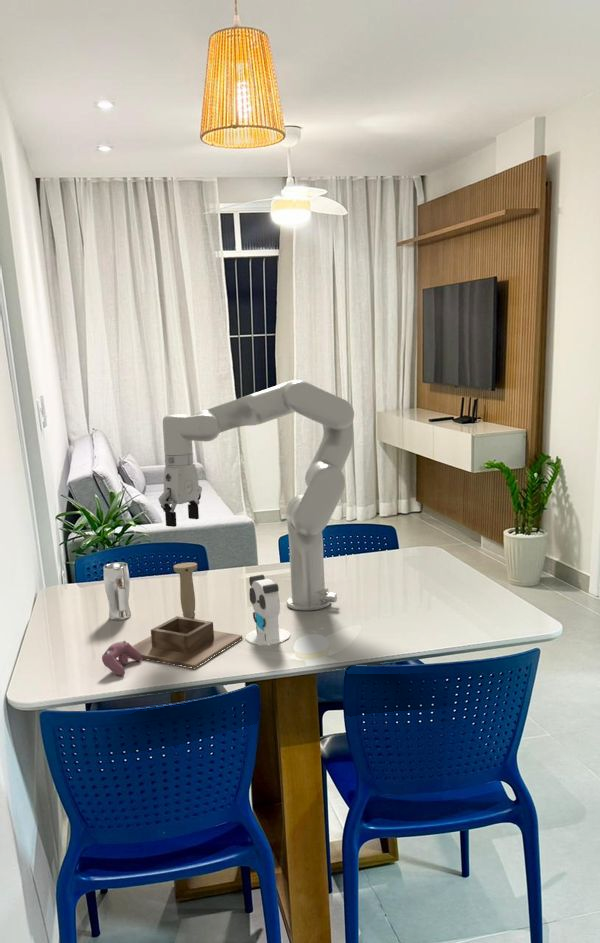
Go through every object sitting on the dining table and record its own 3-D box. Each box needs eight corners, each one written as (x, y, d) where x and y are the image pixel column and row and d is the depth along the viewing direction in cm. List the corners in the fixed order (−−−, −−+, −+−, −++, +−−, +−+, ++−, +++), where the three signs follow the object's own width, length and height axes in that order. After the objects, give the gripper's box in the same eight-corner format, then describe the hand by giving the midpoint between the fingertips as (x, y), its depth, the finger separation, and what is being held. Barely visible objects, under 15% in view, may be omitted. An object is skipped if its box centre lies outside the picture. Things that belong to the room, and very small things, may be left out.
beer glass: (137, 613, 217) (133, 563, 214) (122, 622, 210) (117, 569, 208) (118, 611, 220) (113, 561, 217) (102, 619, 213) (97, 568, 211)
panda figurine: (238, 633, 198) (235, 577, 196) (278, 625, 202) (275, 570, 200) (255, 648, 187) (251, 590, 185) (297, 639, 192) (294, 582, 189)
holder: (242, 639, 194) (241, 618, 193) (194, 669, 177) (193, 646, 176) (174, 627, 204) (172, 607, 204) (122, 654, 187) (121, 633, 186)
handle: (202, 618, 210) (198, 565, 208) (178, 621, 209) (174, 568, 206) (199, 612, 215) (195, 561, 213) (176, 616, 213) (172, 564, 211)
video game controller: (130, 665, 185) (117, 639, 185) (145, 658, 183) (131, 632, 183) (109, 682, 175) (95, 656, 175) (124, 675, 174) (110, 648, 174)
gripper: (169, 465, 196) (173, 530, 199) (209, 456, 211) (212, 517, 214) (146, 464, 200) (151, 528, 203) (188, 455, 215) (191, 515, 217)
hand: (182, 522), depth 208 cm, fingers open, 9 cm apart
